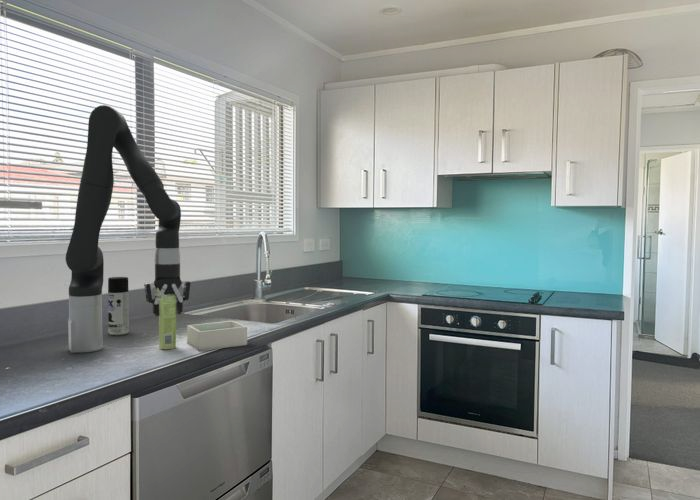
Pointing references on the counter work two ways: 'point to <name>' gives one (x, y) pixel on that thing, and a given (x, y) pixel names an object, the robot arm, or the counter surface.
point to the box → (216, 335)
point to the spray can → (118, 306)
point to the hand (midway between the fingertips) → (168, 314)
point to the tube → (167, 321)
